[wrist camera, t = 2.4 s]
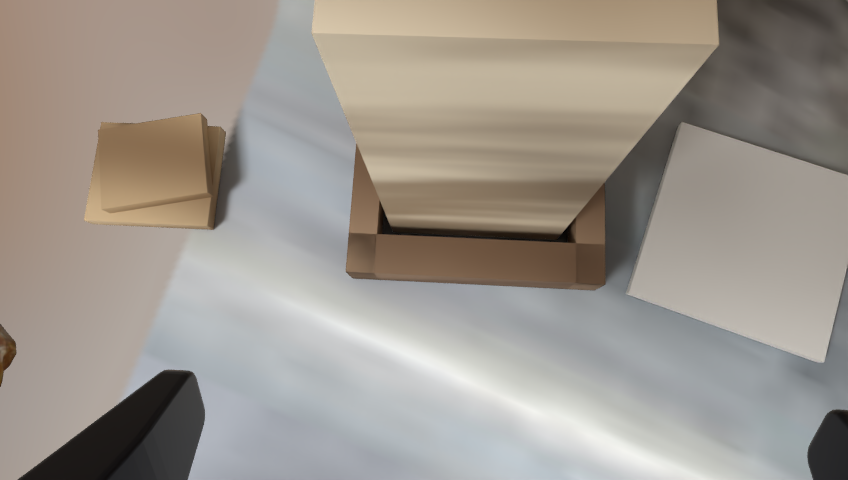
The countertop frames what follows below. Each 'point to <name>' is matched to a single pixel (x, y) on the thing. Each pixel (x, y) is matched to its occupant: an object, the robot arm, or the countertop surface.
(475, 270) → the walnut rack
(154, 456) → the robot arm
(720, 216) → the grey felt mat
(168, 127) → the oak offcuts
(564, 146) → the tan wooden block
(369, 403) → the countertop surface
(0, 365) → the decorative stone
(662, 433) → the countertop surface
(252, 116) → the countertop surface
